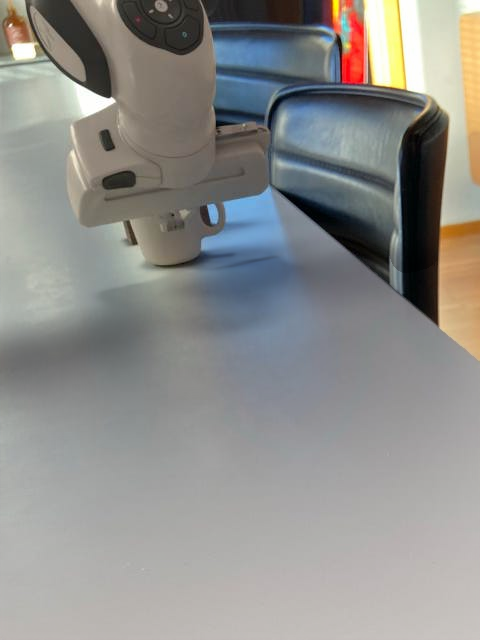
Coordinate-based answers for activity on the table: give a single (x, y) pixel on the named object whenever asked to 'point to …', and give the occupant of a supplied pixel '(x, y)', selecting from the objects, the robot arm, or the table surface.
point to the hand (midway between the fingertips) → (173, 224)
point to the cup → (174, 238)
